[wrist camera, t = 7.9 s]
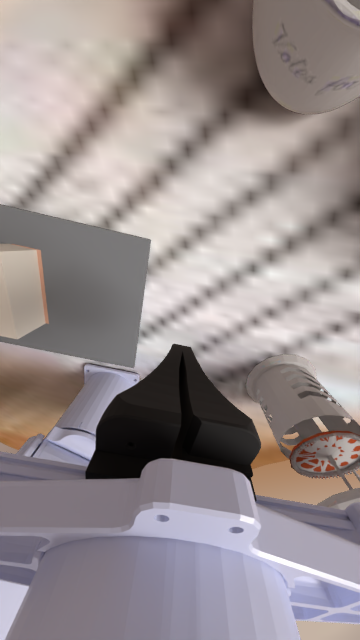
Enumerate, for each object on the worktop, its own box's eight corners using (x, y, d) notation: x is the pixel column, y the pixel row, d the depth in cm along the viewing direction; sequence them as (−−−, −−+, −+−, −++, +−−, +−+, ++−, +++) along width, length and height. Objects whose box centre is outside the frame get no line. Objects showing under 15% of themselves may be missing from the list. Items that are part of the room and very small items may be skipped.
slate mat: (134, 366, 25) (133, 368, 25) (-23, 335, 24) (-26, 336, 24) (151, 239, 18) (150, 239, 18) (-68, 188, 17) (-75, 187, 17)
